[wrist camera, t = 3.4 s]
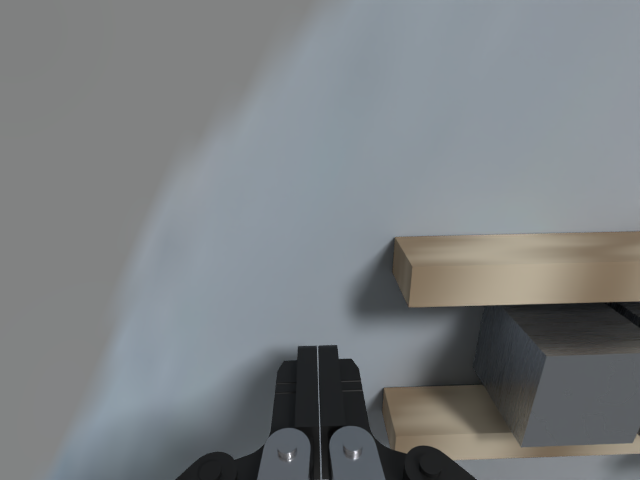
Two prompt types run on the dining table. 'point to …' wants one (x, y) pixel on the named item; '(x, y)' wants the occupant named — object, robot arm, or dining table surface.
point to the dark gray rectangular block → (562, 372)
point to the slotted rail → (499, 289)
